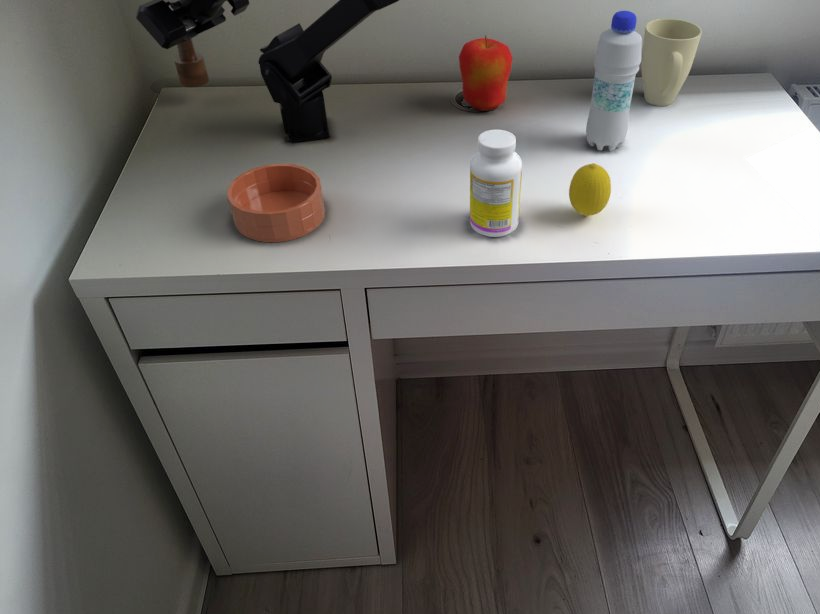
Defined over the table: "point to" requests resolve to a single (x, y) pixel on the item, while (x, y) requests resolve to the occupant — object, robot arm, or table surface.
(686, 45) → the mug
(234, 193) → the bowl
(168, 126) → the table surface
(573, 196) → the lemon
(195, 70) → the pestle
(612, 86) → the bottle
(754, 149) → the table surface
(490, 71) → the apple
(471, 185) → the supplement bottle
